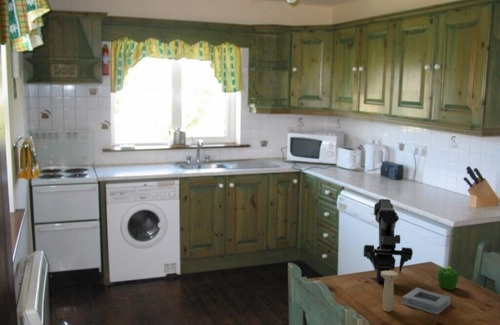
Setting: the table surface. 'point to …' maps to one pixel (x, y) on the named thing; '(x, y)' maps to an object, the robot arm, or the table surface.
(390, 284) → the handle
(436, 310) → the block
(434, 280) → the table surface
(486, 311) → the table surface
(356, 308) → the table surface
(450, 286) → the bell pepper
